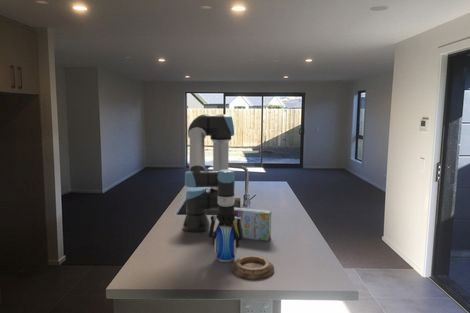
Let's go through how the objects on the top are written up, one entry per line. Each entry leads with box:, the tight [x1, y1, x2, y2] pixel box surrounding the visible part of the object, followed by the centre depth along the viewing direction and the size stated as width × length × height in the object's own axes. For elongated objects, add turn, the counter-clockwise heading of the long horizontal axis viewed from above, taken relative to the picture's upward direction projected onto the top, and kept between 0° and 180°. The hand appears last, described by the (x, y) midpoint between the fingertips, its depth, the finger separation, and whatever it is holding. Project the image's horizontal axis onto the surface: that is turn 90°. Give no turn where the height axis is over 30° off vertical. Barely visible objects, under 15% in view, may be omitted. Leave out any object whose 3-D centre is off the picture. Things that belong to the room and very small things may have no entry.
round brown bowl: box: [231, 254, 275, 281], centre depth 150 cm, size 18×18×3 cm
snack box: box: [233, 206, 272, 242], centre depth 187 cm, size 21×6×15 cm, turn 71°
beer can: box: [216, 225, 236, 263], centre depth 159 cm, size 8×8×16 cm
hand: (225, 253), depth 160 cm, fingers closed on beer can, 8 cm apart
